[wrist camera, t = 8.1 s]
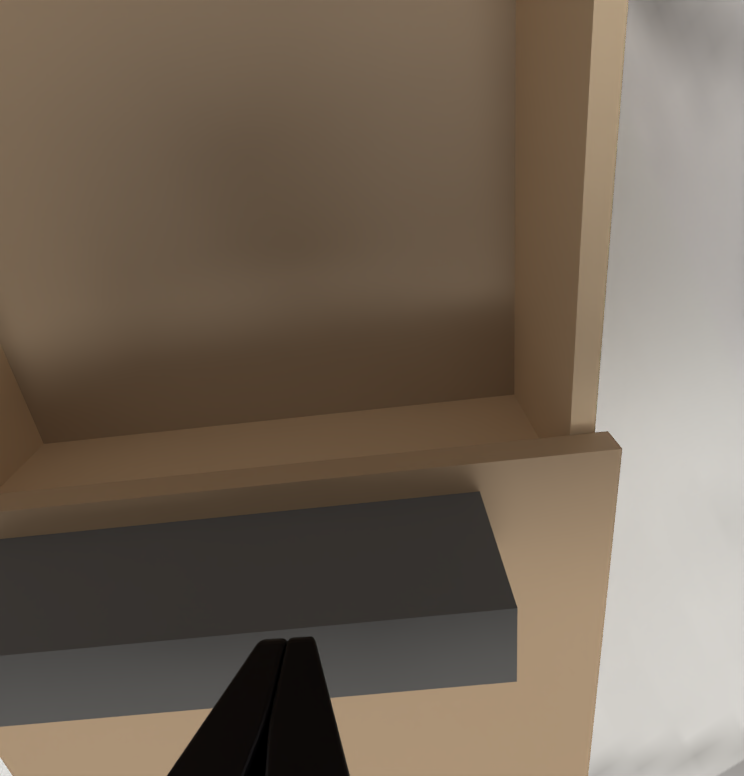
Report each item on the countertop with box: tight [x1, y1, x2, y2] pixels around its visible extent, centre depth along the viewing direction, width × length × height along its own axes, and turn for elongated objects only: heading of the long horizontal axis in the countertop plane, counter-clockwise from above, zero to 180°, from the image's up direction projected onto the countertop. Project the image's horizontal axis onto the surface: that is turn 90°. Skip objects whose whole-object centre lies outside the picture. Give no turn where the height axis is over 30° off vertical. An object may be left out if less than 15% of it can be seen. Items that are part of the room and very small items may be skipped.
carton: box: [0, 0, 628, 494], centre depth 14 cm, size 18×16×6 cm
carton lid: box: [0, 431, 622, 776], centre depth 15 cm, size 19×17×4 cm
